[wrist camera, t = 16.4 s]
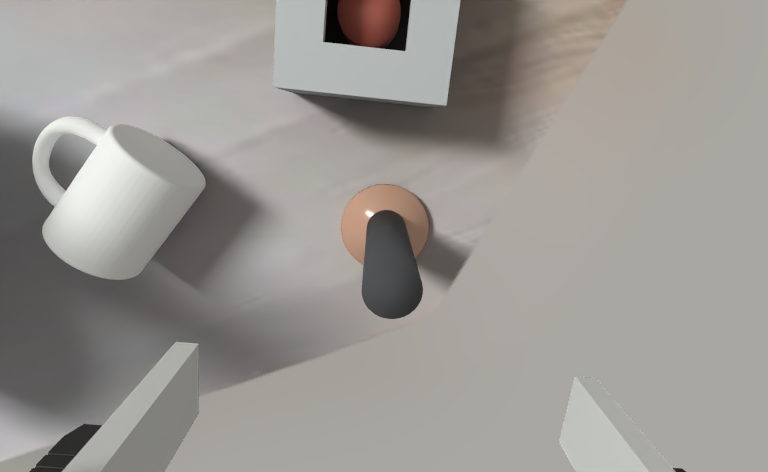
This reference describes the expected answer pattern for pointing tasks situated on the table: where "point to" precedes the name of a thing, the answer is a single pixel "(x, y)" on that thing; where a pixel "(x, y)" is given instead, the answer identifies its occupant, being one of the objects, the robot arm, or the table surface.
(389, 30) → the button
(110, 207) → the mug
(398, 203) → the coaster
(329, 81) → the square hole box
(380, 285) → the rod
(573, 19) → the table surface
